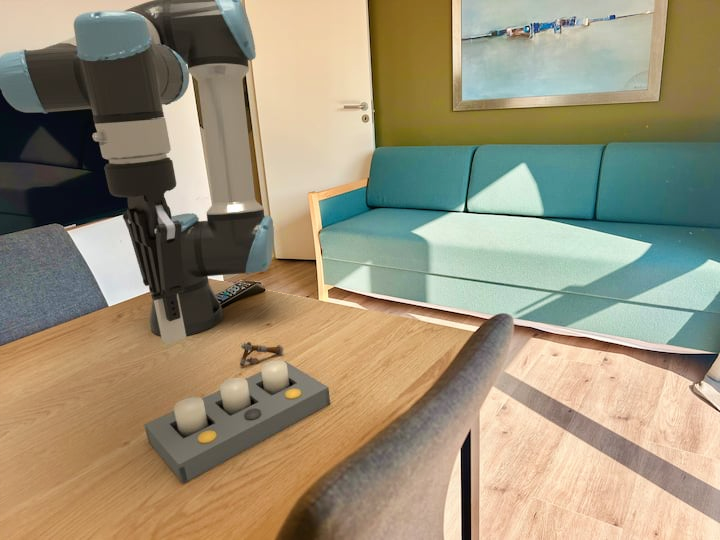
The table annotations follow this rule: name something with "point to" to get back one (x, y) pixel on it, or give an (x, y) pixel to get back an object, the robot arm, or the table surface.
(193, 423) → the button
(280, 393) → the console
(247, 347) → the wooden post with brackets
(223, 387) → the button
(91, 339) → the table surface
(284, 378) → the button
